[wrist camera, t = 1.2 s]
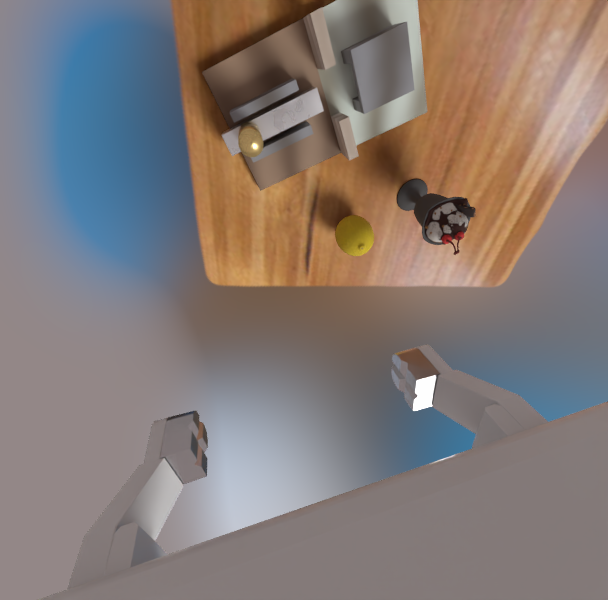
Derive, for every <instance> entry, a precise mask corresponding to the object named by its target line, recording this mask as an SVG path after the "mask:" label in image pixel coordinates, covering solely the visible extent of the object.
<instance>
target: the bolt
mask: <svg viewBox="0 0 608 600" xmlns="http://www.w3.org/2000/svg"><path fill="white" fill-rule="evenodd" d="M323 111H324V110H323V106H322V103H321V100H320V96H319V93H318V89H317V87H312V88H310V89H308V90H306V91H304V92H302V93H300V94H298V95H296V96H294V97H292V98H290V99H288V100H286V101H284V102H282V103H280V104H278V105H276V106H274V107H272V108H270V109H268V110H266V111H264V112H262V113H260V114H258V115H256V116H254V117H252V118H250V119H248V120H246V121H244V122H242V123H240V124H238V125H236V126H234V127H232V128H230V129H228V130H226V131H224V132H222V137H223V139H224V141H225V143H226V145H227V147H228V149H229V151H230V153H231V154H232V156H233V155H235V154H237V153H239V152H242V153H243V154H244V155H246V156H248V157H256V156H258V155H259V154H260V153H261V152H262V150H263V141H264V140H266V139H268V138H270V137H272V136H274V135H276V134H278V133H280V132H282V131H284V130H286V129H288V128H290V127H292V126H294V125H296V124H298V123H300V122H302V121H304V120H306V119H308V118H310V117H313V116H315V115H317V114H319V113H321V112H323Z"/></svg>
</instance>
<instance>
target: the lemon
mask: <svg viewBox="0 0 608 600" xmlns="http://www.w3.org/2000/svg"><path fill="white" fill-rule="evenodd" d="M335 237H336V241H337V244H338V246H339V247H340V248H341V249H342V250H343V251H344V252H345V253H347V254H349V255H352V256H360V255H363V254H365V253H366V252H368V251H369V250H370V248H371V247H372V245H373V242H374V234H373V230H372V227H371V226H370V224H369V223H368V222H367V221H366V220H365V219H364V218H362V217H360V216H356V215H351V216H347V217H345V218H343V219H342V220H341V221H340V222H339V223H338V225H337V227H336V231H335Z"/></svg>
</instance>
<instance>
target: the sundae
mask: <svg viewBox="0 0 608 600" xmlns="http://www.w3.org/2000/svg"><path fill="white" fill-rule="evenodd" d="M397 203H398V205H399V207H400V208H401V209H403V210H406V211H409V210H414V214H415V217H416V219H417V220H418V222H419V223H420V224H421V226H422V235H423V238H424V240H425V241H427V242H428V243H430V244H435V245H441V244H448V243H451V244H452V245H453V246H454V244H453V243H452V242H451V240H453V239H456V240H458V243H459V240H461V239H463V238H464V233H465V232H466V230H467V228H468V223H469V221H470V217H475V213H476V212H475V208H474V207H470V205H469V203H468V200H467V199H466V198H465V199H464V198H462V197H452V198H446V197H443V196H441V195H437V194H432V193H430V194H427V185H426V183H425V182H424V181H422V180H420V179H414V180H410V181H409V182H407V183H406V184H404V185H403V186H402V188H401V189H400V191H399V193H398V196H397ZM458 243H457V251H456V249H455V246H454V249H455V252H454V255H456V254H458V253H459V250H458Z"/></svg>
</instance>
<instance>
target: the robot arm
mask: <svg viewBox="0 0 608 600" xmlns="http://www.w3.org/2000/svg"><path fill="white" fill-rule="evenodd" d="M392 361H393V363H394V366H393V367H392V377H393V381H394V383H395V385H396V387H397V388H398V390H400V391H402V392H404V393H405V395H404V399H405V400H406V402H407V403H408V404H409V406H410V407H411V409H412V410H413V411H415V410H418V409H422V408H426V407H429V406H432V407H433V408H435V409H437V410H438V411H440V412H441V413H443V414H445V415H446V416H448V417H450V418H451V419H453V420H454V421H456V422H458V423H459V424H461V425H462V426H464V427H465V428H467V429H469V430H470V431H472V432H473V433H475V434H476V436H475V439H474V442H473V446H472V449H470V450H467V451H464V452H462V453H459V454H456V455H453V456H450V457H447V458H444V459H441V460H438V461H436V462H433V463H430V464H427V465H424V466H421V467H418V468H415V469H413V470H410V471H407V472H404V473H401V474H398V475H395V476H392V477H389V478H386V479H383V480H381V481H378V482H375V483H372V484H369V485H366V486H363V487H360V488H357V489H355V490H352V491H349V492H346V493H343V494H340V495H337V496H334V497H332V498H329V499H326V500H323V501H320V502H317V503H315V504H311V505H309V506H306V507H303V508H300V509H297V510H294V511H291V512H289V513H286V514H283V515H280V516H277V517H274V518H271V519H268V520H265V521H263V522H260V523H257V524H254V525H251V526H248V527H245V528H242V529H240V530H237V531H234V532H231V533H229V534H225V535H222V536H219V537H217V538H214V539H211V540H208V541H205V542H202V543H200V544H197V545H194V546H191V547H188V548H185V549H182V550H180V551H176V552H173V553H171V554H167V553H166V551H165V550H164V549H163V548H162V547H161V546H159V545H158V544H157V543H156V542H155V540H156V538H157V536H158V534H159V533H160V531H161V529H162V527H163V525H164V523H165V521H166V519H167V517H168V515H169V513H170V511H171V509H172V507H173V505H174V503H175V502H176V500H177V498H178V496H179V494H180V492H181V490H182V488H183V486H184V485H183V484H186V483H189V482H192V481H195V480H197V479H200V478H203V477H206V476H207V457H206V455H205V454H204V452H205V451H206V449H207V448H208V439H207V432H206V428H205V426H204V424H203V423H202V422H200V421H199V414H198V412H197V411H191V412H187V413H183V414H179V415H175V416H172V417H168V418H164V419H161V420H157V421H154V423H153V424H152V427H151V432H150V436H149V440H148V445H147V450H146V455H145V459H144V464H141V465H139V466H138V467H137V469H136V470H135V471H134V473H133V474H132V475H131V477H130V478H129V479H128V480H127V482H126V483H125V484H124V486H123V487H122V488H121V490H120V491H119V492H118V493H117V495H116V496H115V497H114V499H113V500H112V501H111V502H110V504H109V505H108V506H107V508H106V509H105V510H104V512H103V513H102V514H101V515H100V517H99V518H98V519H97V521H96V522H95V523H94V525H93V526H92V527H91V529H90V530H89V531H88V532H87V534H86V535H85V536H84V538H83V541H82V545H81V548H80V551H79V554H78V557H77V560H76V563H75V567H74V570H73V573H72V576H71V579H70V582H69V586H68V589H67V590H64V591H62V592H59V593H56V594H53V595H50V596H47V597H44V598H41V599H38V600H608V402H605V403H602V404H599V405H597V406H593V407H591V408H588V409H585V410H582V411H579V412H576V413H574V414H570V415H568V416H565V417H562V418H559V419H556V420H553V421H550V422H548V421H547V420H546V419H544V418H543V417H542V416H541V415H540V414H539V413H538V412H537V411H536V410H535V409H534V408H532V407H531V406H530V405H529V404H528V403H527V402H526V401H524V399H523V398H521V397H520V396H519V395H517V394H514V393H512V392H510V391H507V390H505V389H502V388H500V387H497V386H495V385H493V384H490V383H488V382H485V381H483V380H480V379H478V378H475V377H473V376H470V375H468V374H465V373H463V372H461V371H458V370H454V371H453V370H452V369H451V368H450V367H449V366H448V365H447V364H446V363H445V362H444V360H443V359H441V357H440V356H439V355H438V354H437V353H436V352H435V351H434V350H433V349H432V348H431V347H430V346H429V345H423V346H420V347H417V348H412V349H409V350H406V351H402V352H399V353H395V354H394V355H393V357H392Z"/></svg>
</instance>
